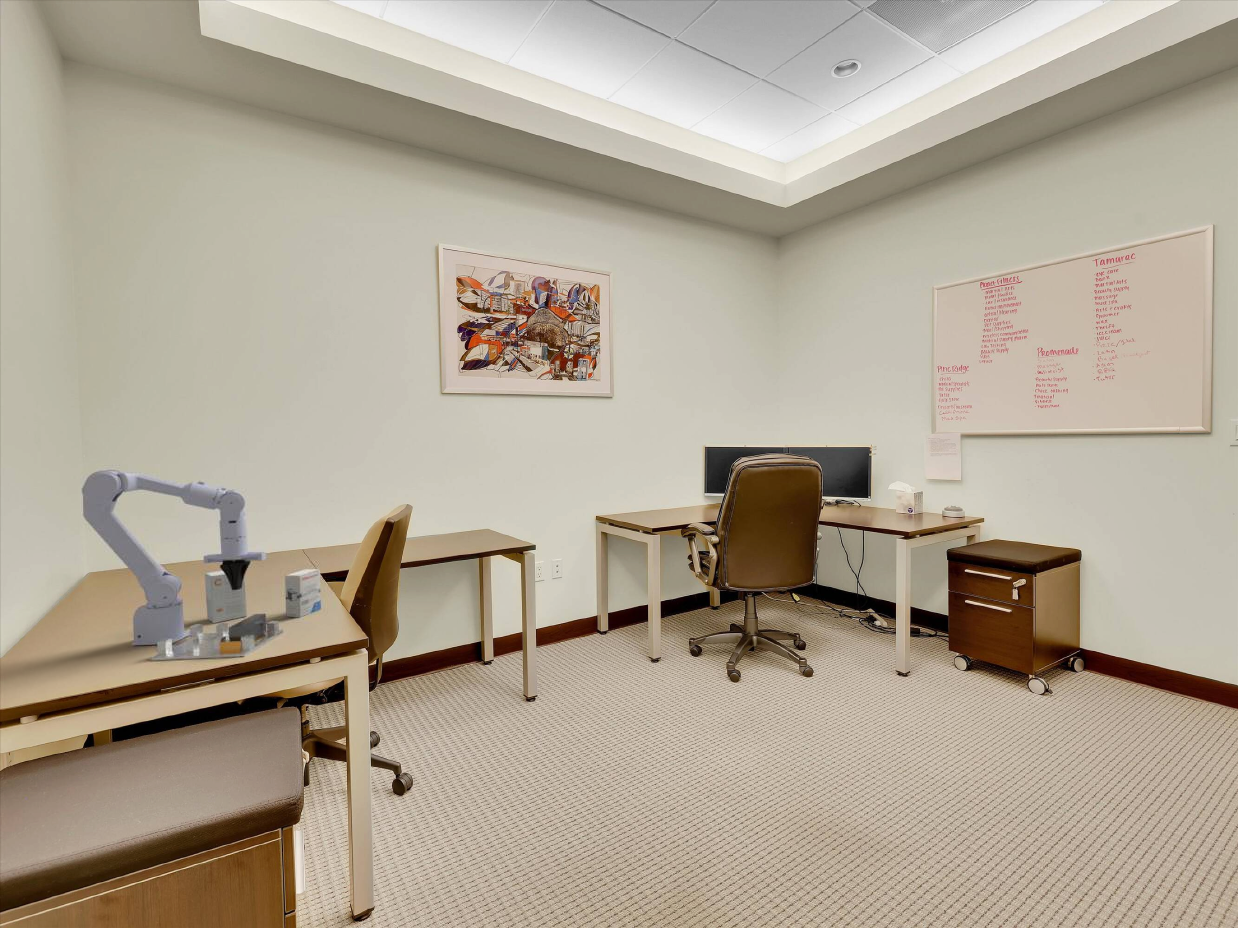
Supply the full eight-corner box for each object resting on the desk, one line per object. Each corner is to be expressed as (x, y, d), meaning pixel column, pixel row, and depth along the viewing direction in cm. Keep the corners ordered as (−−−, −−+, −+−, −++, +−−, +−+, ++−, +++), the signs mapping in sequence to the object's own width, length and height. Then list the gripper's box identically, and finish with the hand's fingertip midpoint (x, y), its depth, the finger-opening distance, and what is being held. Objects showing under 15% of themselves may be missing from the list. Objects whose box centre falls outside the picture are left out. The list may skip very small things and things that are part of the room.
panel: (229, 649, 135) (228, 627, 135) (256, 633, 146) (255, 613, 146) (240, 648, 135) (239, 627, 135) (266, 633, 146) (265, 613, 146)
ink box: (307, 608, 172) (305, 568, 171) (322, 609, 171) (321, 568, 170) (285, 617, 163) (283, 575, 163) (301, 617, 162) (299, 575, 162)
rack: (151, 660, 131) (150, 644, 131) (201, 635, 148) (200, 621, 148) (244, 656, 132) (243, 640, 132) (283, 632, 149) (282, 618, 149)
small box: (240, 612, 169) (237, 567, 168) (247, 616, 165) (245, 570, 164) (206, 619, 163) (204, 572, 162) (213, 623, 159) (210, 575, 158)
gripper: (270, 533, 157) (273, 583, 158) (214, 536, 156) (217, 586, 157) (256, 537, 150) (259, 590, 150) (196, 540, 149) (200, 593, 150)
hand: (236, 589), depth 153 cm, fingers closed
